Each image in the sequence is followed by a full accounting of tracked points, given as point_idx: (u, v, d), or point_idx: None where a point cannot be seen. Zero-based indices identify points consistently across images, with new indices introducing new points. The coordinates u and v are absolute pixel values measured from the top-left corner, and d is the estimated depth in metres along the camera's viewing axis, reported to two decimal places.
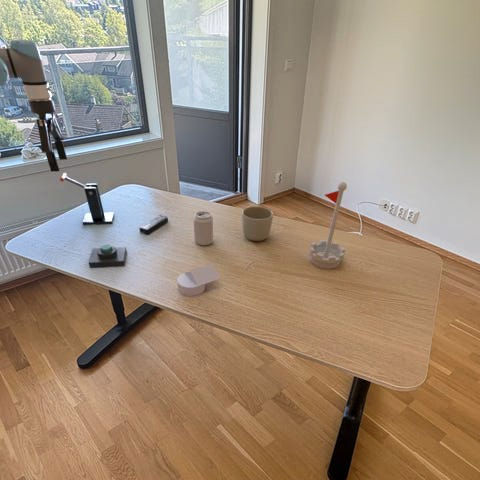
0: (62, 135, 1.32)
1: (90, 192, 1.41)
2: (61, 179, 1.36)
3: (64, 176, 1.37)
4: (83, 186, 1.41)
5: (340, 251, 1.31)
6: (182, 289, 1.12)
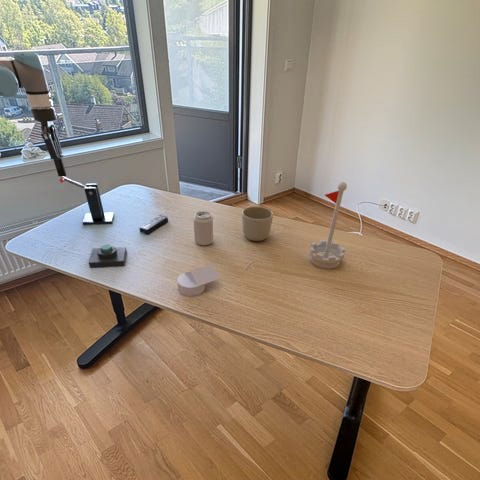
0: (61, 152, 1.35)
1: (90, 192, 1.41)
2: (61, 180, 1.36)
3: (64, 177, 1.38)
4: (83, 186, 1.41)
5: (340, 251, 1.31)
6: (182, 289, 1.12)
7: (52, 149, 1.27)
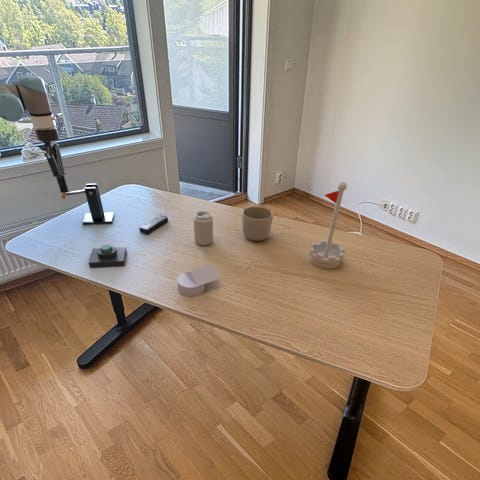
0: None
1: (90, 192, 1.41)
2: (62, 197, 1.40)
3: (64, 193, 1.41)
4: (83, 191, 1.42)
5: (340, 251, 1.31)
6: (182, 289, 1.12)
7: (55, 167, 1.31)
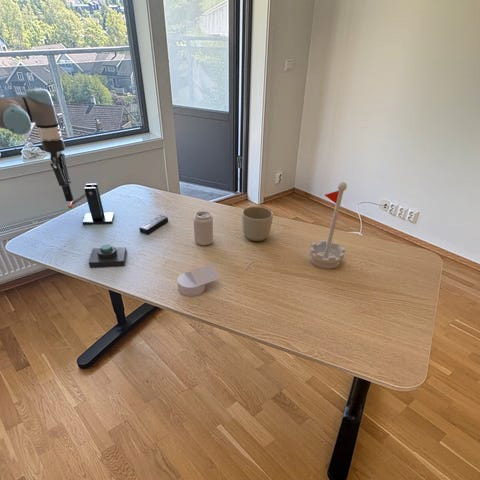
0: (69, 178, 1.41)
1: (90, 192, 1.41)
2: (69, 207, 1.43)
3: (70, 202, 1.44)
4: (85, 194, 1.43)
5: (340, 251, 1.31)
6: (182, 289, 1.12)
7: (60, 177, 1.34)
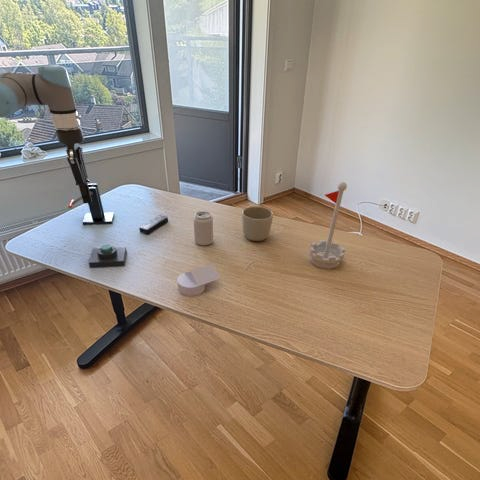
0: (87, 176, 1.19)
1: (90, 192, 1.41)
2: (69, 207, 1.43)
3: (70, 202, 1.44)
4: None
5: (340, 251, 1.31)
6: (182, 289, 1.12)
7: (78, 174, 1.11)
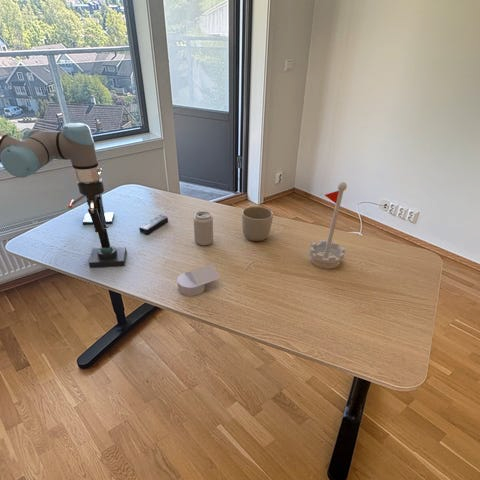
0: None
1: None
2: (69, 207, 1.43)
3: (70, 202, 1.44)
4: None
5: (340, 251, 1.31)
6: (182, 289, 1.12)
7: (98, 223, 1.14)
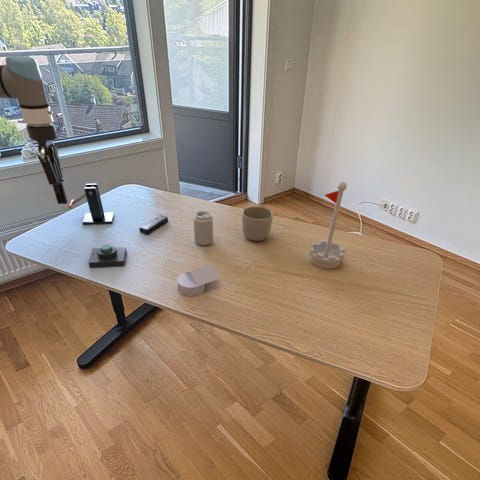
0: (62, 175, 1.13)
1: (90, 192, 1.41)
2: (69, 207, 1.43)
3: (70, 202, 1.44)
4: (85, 194, 1.43)
5: (340, 251, 1.31)
6: (182, 289, 1.12)
7: (51, 173, 1.05)
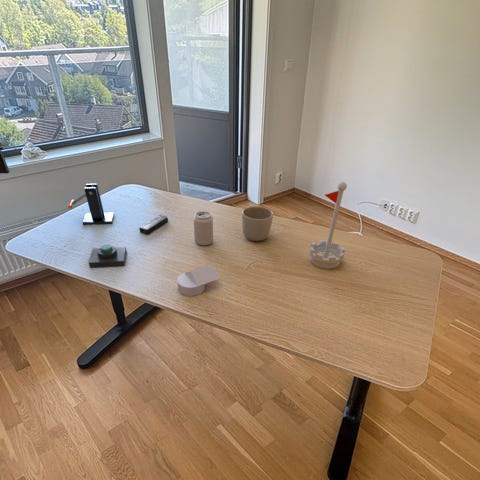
0: None
1: (90, 192, 1.41)
2: (69, 207, 1.43)
3: (70, 202, 1.44)
4: (85, 194, 1.43)
5: (340, 251, 1.31)
6: (182, 289, 1.12)
7: None
